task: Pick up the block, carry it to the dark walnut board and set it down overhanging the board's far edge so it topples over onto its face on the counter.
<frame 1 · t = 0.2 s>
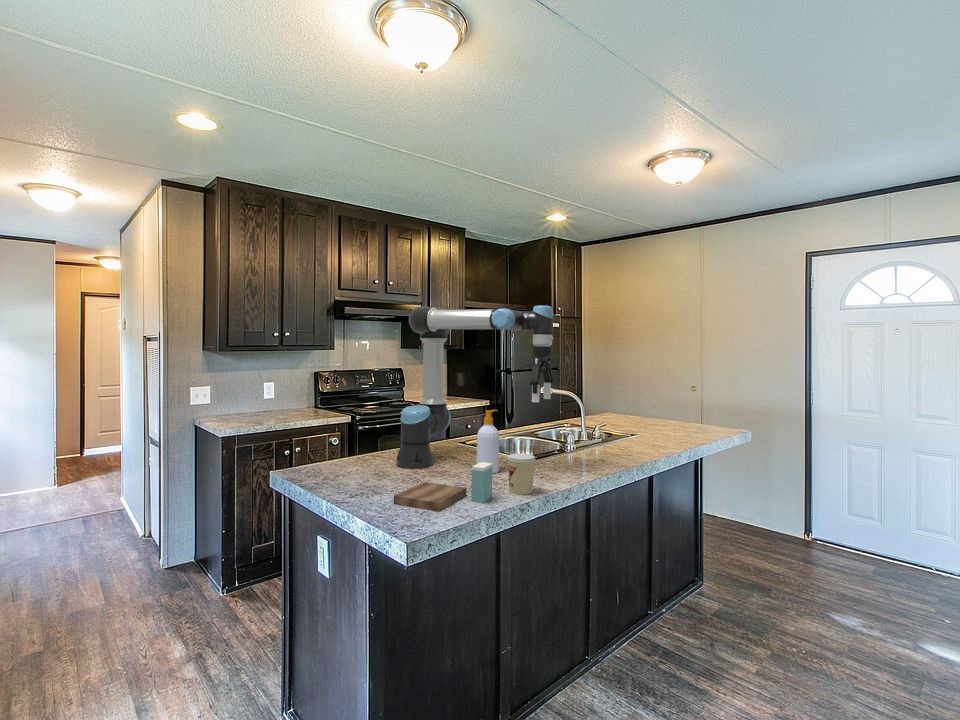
hand: (541, 400, 201), 28 cm above the counter, fingers open, 13 cm apart
soap bottle: (488, 471, 201), on the counter
white-capped cylinder: (520, 492, 174), on the counter
block: (481, 499, 165), on the counter
board: (431, 499, 164), on the counter
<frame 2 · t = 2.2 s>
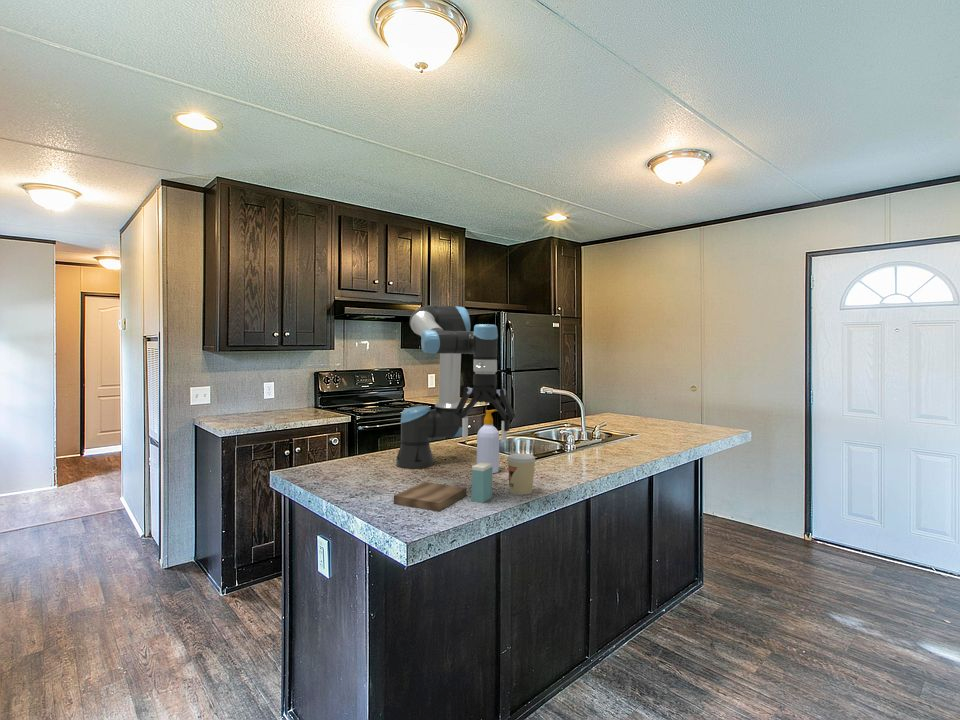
hand: (484, 439, 165), 19 cm above the counter, fingers open, 13 cm apart
nothing on the counter moved.
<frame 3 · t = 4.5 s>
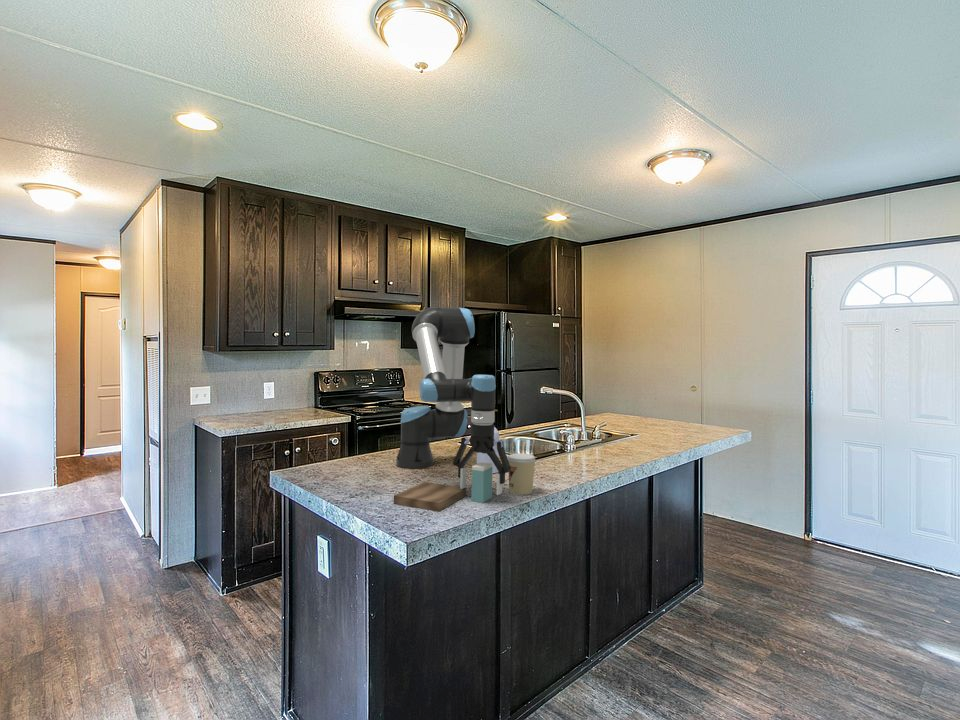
hand: (480, 490, 165), 3 cm above the counter, fingers open, 12 cm apart
nothing on the counter moved.
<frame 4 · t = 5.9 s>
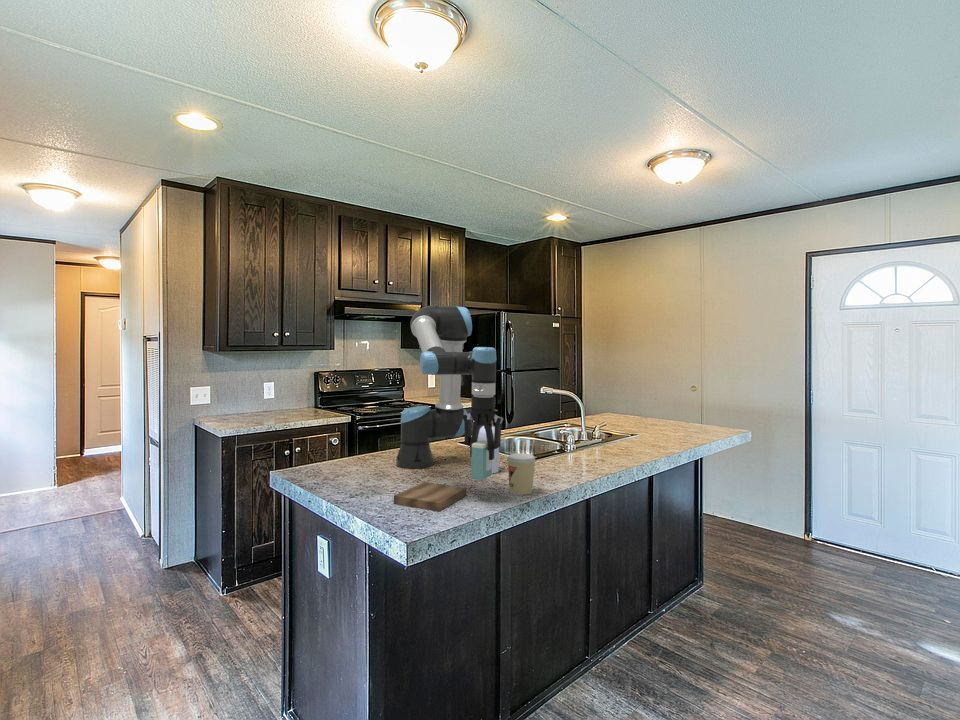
hand: (481, 468, 165), 10 cm above the counter, fingers closed on block, 4 cm apart
block: (481, 476, 165), point 7 cm above the counter, touching gripper
everything else where it was.
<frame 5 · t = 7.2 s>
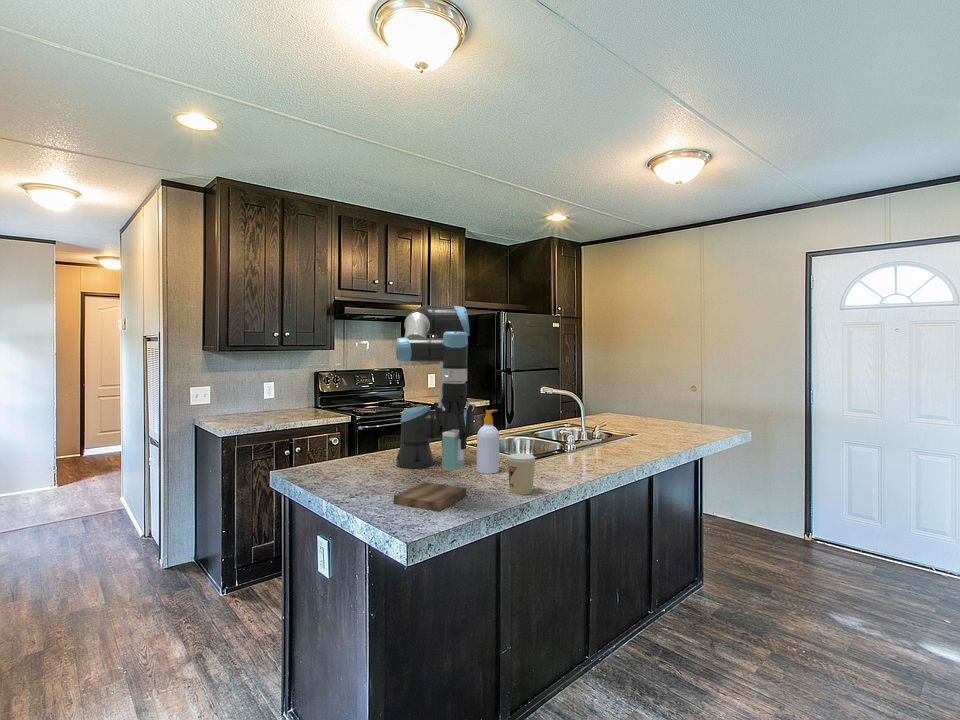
hand: (453, 458, 158), 14 cm above the counter, fingers closed on block, 4 cm apart
block: (453, 467, 158), point 12 cm above the counter, touching gripper
everything else where it was.
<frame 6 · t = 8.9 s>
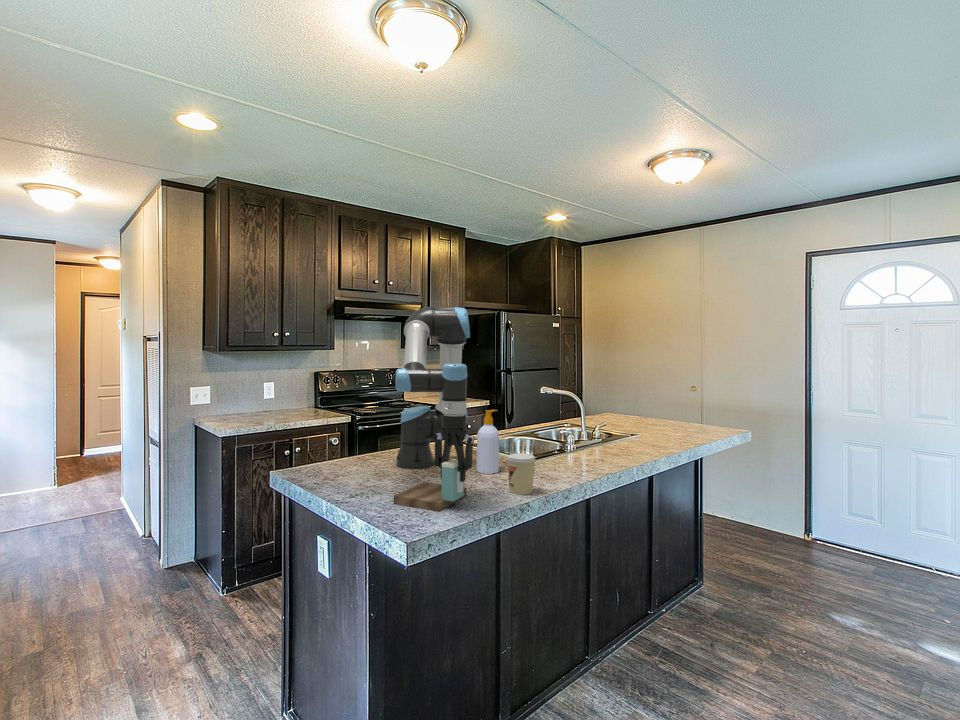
hand: (452, 490, 158), 5 cm above the counter, fingers closed on block, 4 cm apart
block: (452, 497, 158), point 3 cm above the counter, touching board, gripper
everything else where it was.
when the fingers open (4 cm above the counter, at t = 9.7 s): block stays where it is, resting on board.
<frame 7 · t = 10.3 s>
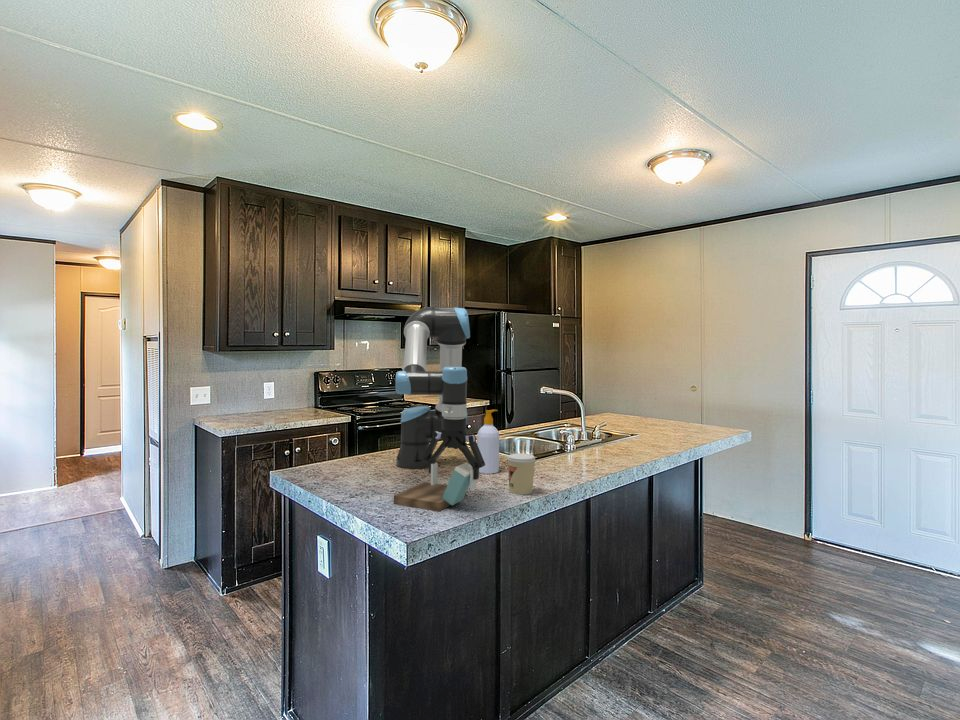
hand: (453, 487, 158), 6 cm above the counter, fingers open, 13 cm apart
block: (452, 498, 158), point 2 cm above the counter, tilted 24°, touching board, gripper
everything else where it was.
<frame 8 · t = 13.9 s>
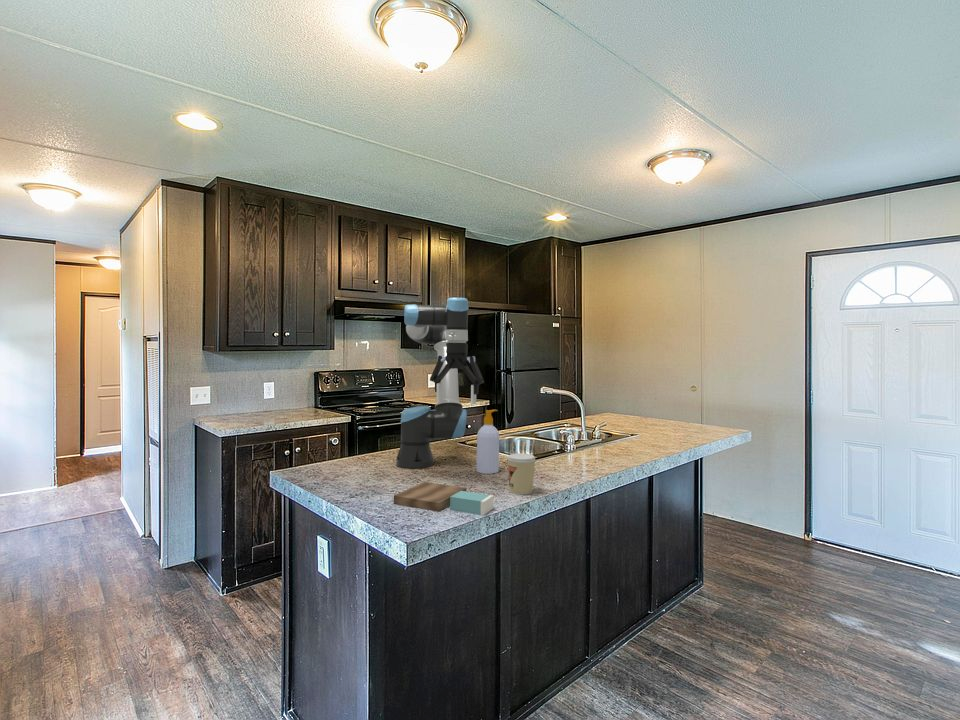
hand: (456, 402, 182), 29 cm above the counter, fingers open, 13 cm apart
block: (455, 500, 157), point 2 cm above the counter, tilted 90°
everything else where it was.
at the end: block tilted 90°; block inside the target area (4.1 cm from its centre), point 1.9 cm above the counter; the gripper is holding nothing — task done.
